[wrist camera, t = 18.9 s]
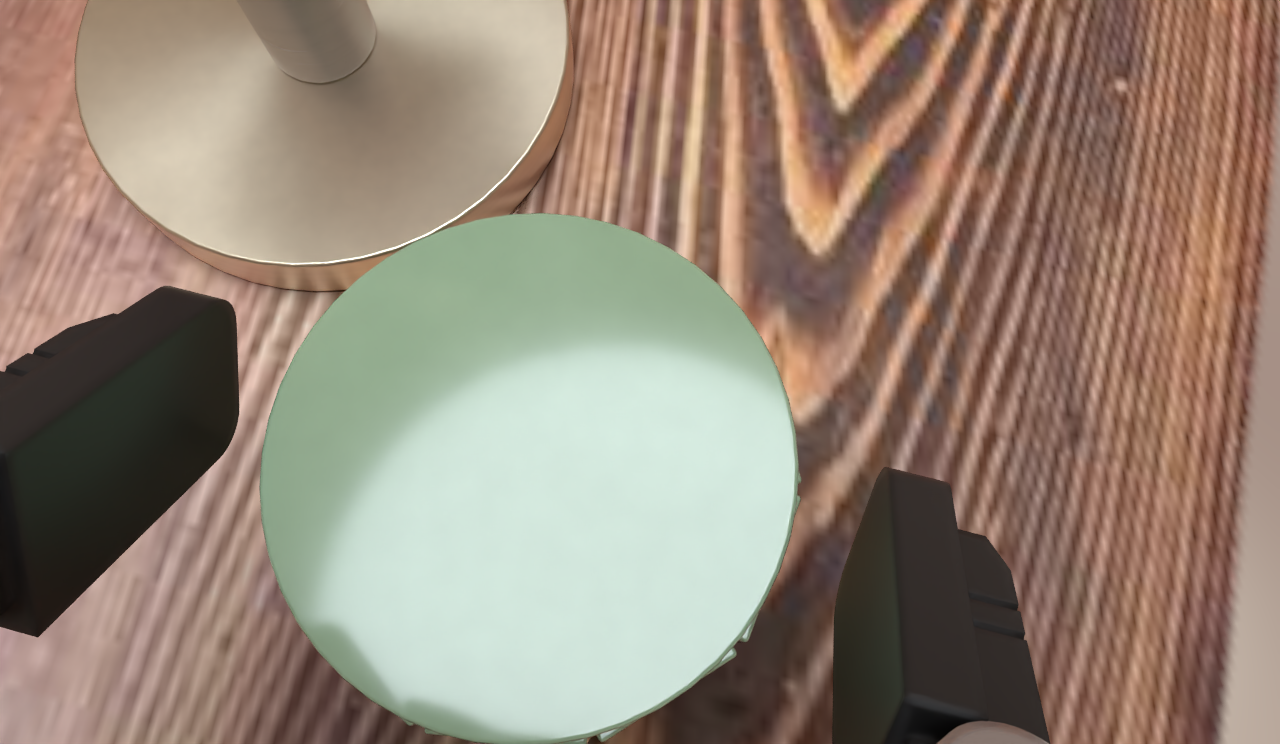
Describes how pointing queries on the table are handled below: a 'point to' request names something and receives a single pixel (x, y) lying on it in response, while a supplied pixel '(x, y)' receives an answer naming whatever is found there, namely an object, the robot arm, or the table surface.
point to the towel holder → (321, 122)
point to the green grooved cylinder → (529, 480)
